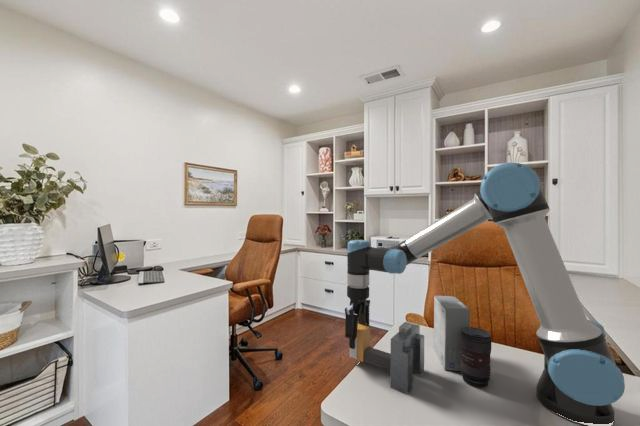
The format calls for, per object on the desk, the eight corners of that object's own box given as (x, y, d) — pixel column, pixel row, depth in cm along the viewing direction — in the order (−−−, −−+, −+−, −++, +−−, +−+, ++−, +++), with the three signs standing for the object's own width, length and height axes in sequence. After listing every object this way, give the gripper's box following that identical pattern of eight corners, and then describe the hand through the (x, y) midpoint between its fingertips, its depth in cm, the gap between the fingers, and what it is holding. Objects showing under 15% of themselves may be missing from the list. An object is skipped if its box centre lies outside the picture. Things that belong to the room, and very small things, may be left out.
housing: (424, 370, 90) (424, 320, 90) (407, 394, 78) (407, 336, 78) (408, 365, 93) (408, 316, 93) (390, 387, 81) (390, 332, 81)
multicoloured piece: (401, 366, 89) (401, 335, 89) (395, 373, 85) (395, 340, 85) (357, 351, 99) (357, 323, 99) (349, 357, 95) (350, 327, 95)
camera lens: (495, 391, 79) (496, 338, 79) (464, 387, 81) (465, 335, 81) (485, 375, 87) (485, 327, 87) (457, 372, 89) (457, 324, 89)
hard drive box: (470, 373, 89) (470, 309, 89) (444, 370, 90) (444, 308, 90) (454, 349, 104) (455, 295, 104) (432, 347, 105) (433, 294, 105)
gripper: (361, 279, 105) (360, 341, 105) (334, 289, 91) (333, 361, 91) (379, 282, 101) (379, 346, 101) (354, 293, 86) (353, 369, 86)
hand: (357, 353), depth 96 cm, fingers closed on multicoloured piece, 5 cm apart
